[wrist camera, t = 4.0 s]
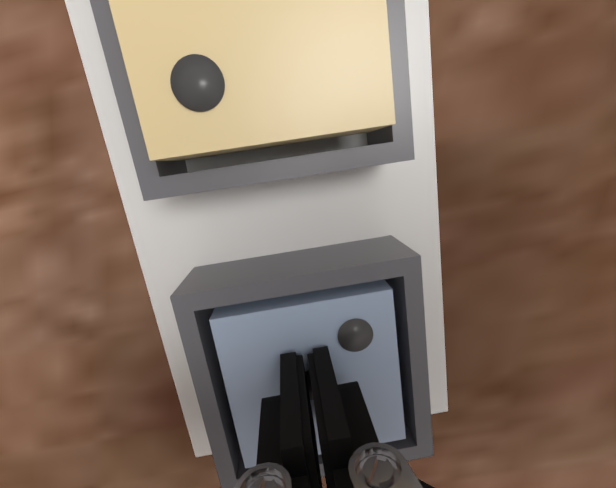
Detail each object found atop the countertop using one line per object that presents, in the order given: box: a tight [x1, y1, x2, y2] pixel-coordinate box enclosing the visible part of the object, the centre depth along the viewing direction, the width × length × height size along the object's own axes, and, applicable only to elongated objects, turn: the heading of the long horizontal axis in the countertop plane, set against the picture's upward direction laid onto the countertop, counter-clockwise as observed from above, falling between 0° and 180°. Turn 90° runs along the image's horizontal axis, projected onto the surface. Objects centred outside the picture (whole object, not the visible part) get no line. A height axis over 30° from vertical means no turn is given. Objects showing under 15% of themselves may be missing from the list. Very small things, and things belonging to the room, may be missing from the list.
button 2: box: [108, 0, 396, 161], centre depth 9 cm, size 6×6×3 cm
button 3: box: [209, 279, 406, 468], centre depth 13 cm, size 6×6×3 cm
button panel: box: [65, 0, 448, 488], centre depth 11 cm, size 12×32×4 cm, turn 8°
